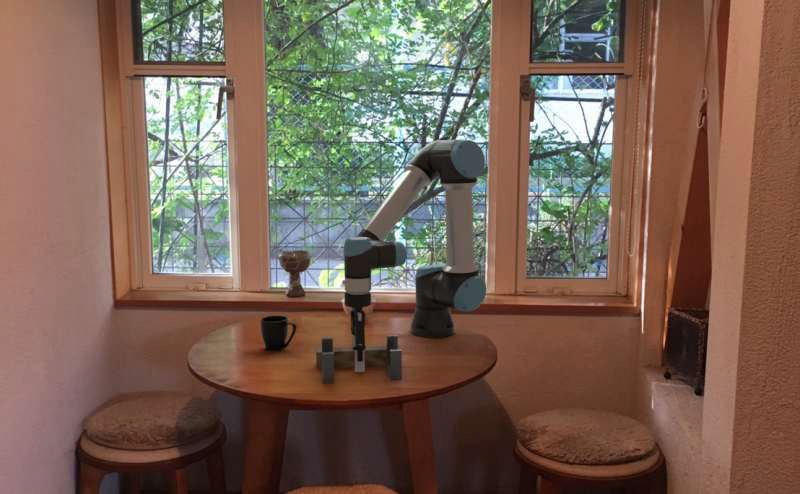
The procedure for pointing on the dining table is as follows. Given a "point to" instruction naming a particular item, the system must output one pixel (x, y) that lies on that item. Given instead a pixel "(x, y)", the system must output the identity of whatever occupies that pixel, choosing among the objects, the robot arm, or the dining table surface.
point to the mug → (276, 332)
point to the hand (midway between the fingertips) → (357, 364)
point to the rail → (347, 356)
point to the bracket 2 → (394, 358)
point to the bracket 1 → (327, 360)
